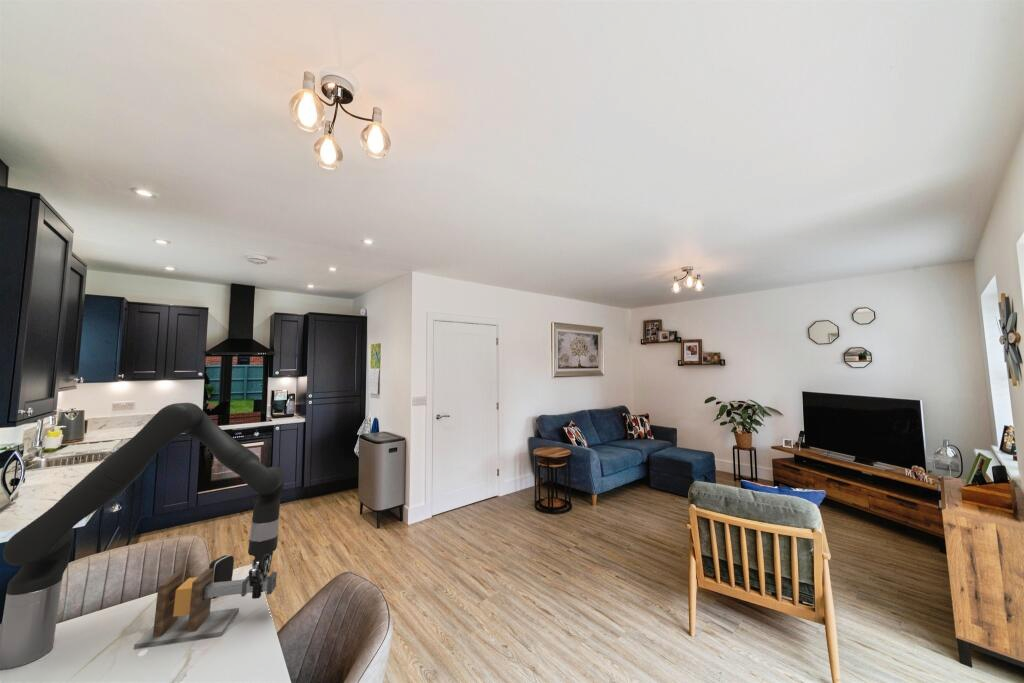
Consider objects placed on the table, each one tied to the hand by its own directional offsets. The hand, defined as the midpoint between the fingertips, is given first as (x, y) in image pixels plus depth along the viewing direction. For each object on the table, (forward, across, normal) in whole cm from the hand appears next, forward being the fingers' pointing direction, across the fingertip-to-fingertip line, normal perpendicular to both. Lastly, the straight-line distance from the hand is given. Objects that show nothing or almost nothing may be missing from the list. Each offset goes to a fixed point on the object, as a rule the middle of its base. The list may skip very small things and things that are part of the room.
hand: (258, 594), depth 115 cm
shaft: (-1, 0, -7) cm, 7 cm away
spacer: (+2, 0, -18) cm, 18 cm away
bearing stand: (+7, 0, -17) cm, 18 cm away
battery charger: (+8, -20, -18) cm, 28 cm away
